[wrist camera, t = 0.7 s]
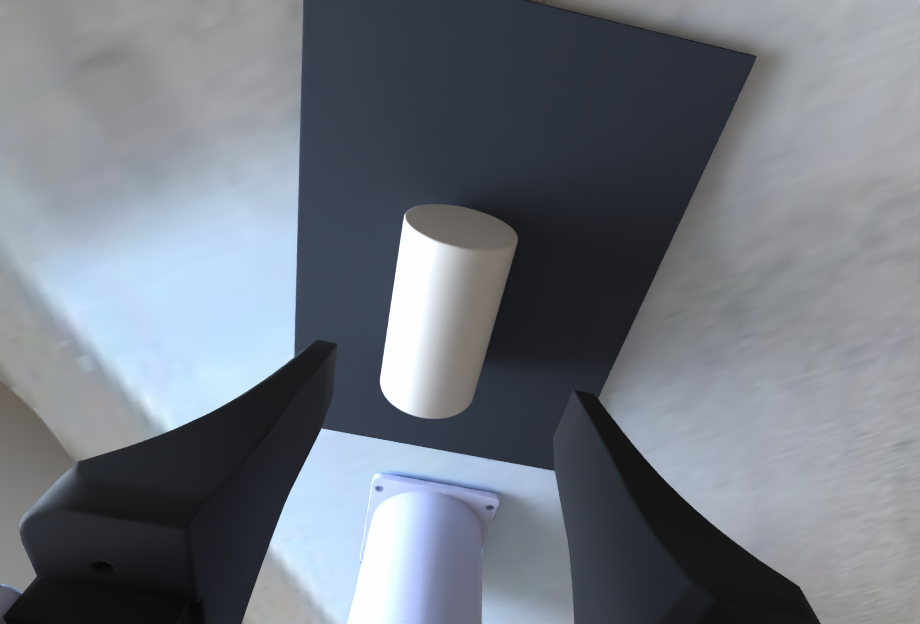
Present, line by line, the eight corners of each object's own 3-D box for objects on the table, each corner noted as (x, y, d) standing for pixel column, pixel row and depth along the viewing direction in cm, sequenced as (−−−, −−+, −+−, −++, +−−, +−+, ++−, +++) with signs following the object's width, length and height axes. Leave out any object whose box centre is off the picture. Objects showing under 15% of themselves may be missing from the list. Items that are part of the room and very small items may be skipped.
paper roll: (474, 367, 24) (471, 429, 20) (389, 350, 24) (370, 410, 20) (515, 217, 20) (522, 260, 16) (412, 195, 19) (395, 233, 16)
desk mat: (562, 467, 28) (563, 472, 28) (294, 418, 27) (292, 423, 27) (752, 55, 17) (757, 56, 16) (308, -52, 16) (304, -54, 15)
